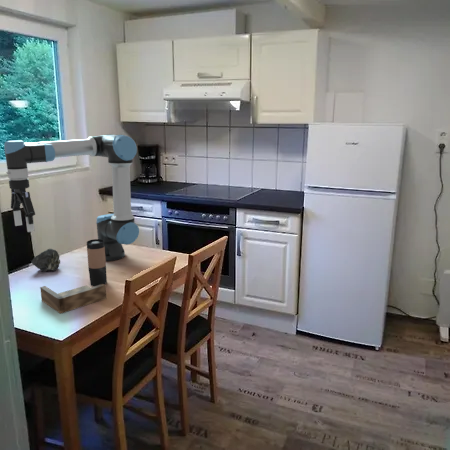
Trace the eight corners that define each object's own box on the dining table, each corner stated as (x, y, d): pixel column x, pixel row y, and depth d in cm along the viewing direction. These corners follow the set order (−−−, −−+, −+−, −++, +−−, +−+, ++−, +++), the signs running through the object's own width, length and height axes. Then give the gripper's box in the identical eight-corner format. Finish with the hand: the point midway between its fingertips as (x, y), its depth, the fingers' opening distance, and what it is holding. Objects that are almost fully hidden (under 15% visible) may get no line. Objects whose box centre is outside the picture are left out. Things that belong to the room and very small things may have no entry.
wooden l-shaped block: (86, 287, 194) (85, 274, 193) (106, 298, 183) (105, 285, 181) (41, 300, 181) (40, 287, 179) (60, 313, 169) (58, 299, 167)
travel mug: (105, 279, 203) (102, 238, 198) (108, 285, 197) (105, 242, 192) (88, 282, 200) (85, 240, 195) (91, 288, 194) (87, 244, 188)
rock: (54, 258, 224) (50, 244, 217) (67, 267, 220) (63, 253, 213) (34, 273, 216) (29, 259, 209) (47, 282, 212) (42, 267, 205)
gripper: (-2, 176, 187) (5, 224, 192) (20, 183, 169) (27, 235, 175) (16, 174, 192) (22, 221, 197) (40, 181, 175) (45, 232, 180)
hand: (24, 228), depth 186 cm, fingers open, 13 cm apart
